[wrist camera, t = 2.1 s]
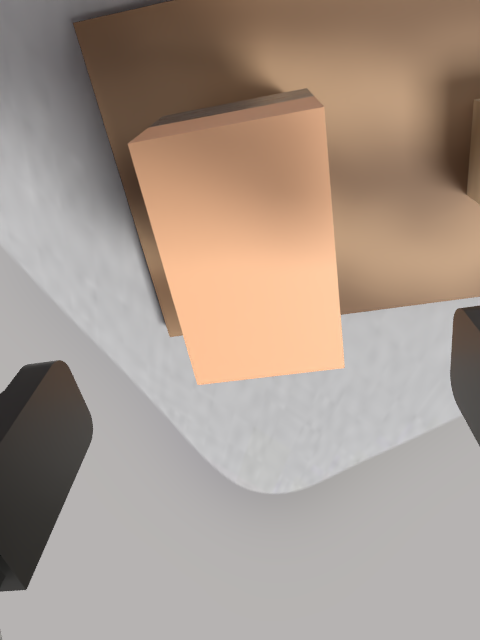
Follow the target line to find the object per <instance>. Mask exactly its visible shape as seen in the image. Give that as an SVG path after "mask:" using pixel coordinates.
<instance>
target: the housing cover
mask: <svg viewBox="0 0 480 640" xmlns="http://www.w3.org/2000/svg"><path fill="white" fill-rule="evenodd" d="M128 147H129V150H130V154H131V157H132V161H133V164H134V168H135V171H136V174H137V178H138V181H139V185H140V188H141V192H142V195H143V199H144V202H145V205H146V209H147V212H148V216H149V219H150V223H151V226H152V230H153V233H154V237H155V240H156V243H157V247H158V250H159V254H160V257H161V261H162V264H163V268H164V271H165V274H166V278H167V281H168V285H169V288H170V292H171V295H172V299H173V302H174V305H175V309H176V312H177V316H178V319H179V323H180V326H181V330H182V333H183V336H184V340H185V343H186V347H187V350H188V354H189V357H190V361H191V364H192V367H193V371H194V374H195V378H196V381H197V385H202V384H210V383H219V382H228V381H236V380H245V379H253V378H262V377H271V376H279V375H288V374H297V373H305V372H314V371H322V370H331V369H340V368H345V367H344V354H343V341H342V328H341V315H340V302H339V289H338V276H337V264H336V251H335V238H334V225H333V212H332V199H331V186H330V173H329V160H328V148H327V135H326V122H325V109H324V106H323V105H322V104H321V103H320V102H319V101H318V99H317V98H316V97H315V96H311V97H306V98H301V99H295V100H290V101H285V102H280V103H274V104H269V105H264V106H259V107H254V108H248V109H243V110H238V111H233V112H227V113H222V114H217V115H212V116H207V117H201V118H196V119H191V120H186V121H180V122H175V123H170V124H165V125H160V126H154V127H149V128H147V129H146V130H145V131H143V132H142V133H141V134H139V135H138V136H137V137H136V138H134V139H133V140H132V141H130V142H129V143H128Z"/></svg>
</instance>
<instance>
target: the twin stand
mask: <svg viewBox="0 0 480 640" xmlns="http://www.w3.org/2000/svg"><path fill="white" fill-rule="evenodd" d="M73 25H74V28H75V32H76V35H77V38H78V41H79V44H80V48H81V51H82V54H83V57H84V61H85V64H86V67H87V70H88V74H89V77H90V80H91V83H92V87H93V90H94V93H95V96H96V100H97V103H98V106H99V109H100V112H101V116H102V119H103V122H104V125H105V129H106V132H107V135H108V138H109V142H110V145H111V148H112V151H113V155H114V158H115V161H116V164H117V168H118V171H119V174H120V177H121V180H122V184H123V187H124V190H125V193H126V197H127V200H128V203H129V206H130V210H131V213H132V216H133V219H134V223H135V226H136V229H137V232H138V235H139V239H140V242H141V245H142V248H143V252H144V255H145V258H146V261H147V265H148V268H149V271H150V274H151V278H152V281H153V284H154V287H155V291H156V294H157V297H158V300H159V303H160V307H161V310H162V313H163V316H164V320H165V323H166V326H167V329H168V333H169V336H170V337H174V336H181V335H183V333H182V330H181V326H180V323H179V319H178V316H177V312H176V309H175V305H174V302H173V299H172V295H171V292H170V288H169V285H168V281H167V278H166V274H165V271H164V268H163V264H162V261H161V257H160V254H159V250H158V247H157V243H156V240H155V237H154V233H153V230H152V226H151V223H150V219H149V216H148V212H147V209H146V205H145V202H144V199H143V195H142V192H141V188H140V185H139V181H138V178H137V174H136V171H135V168H134V164H133V161H132V157H131V154H130V150H129V147H128V143H129V142H130V141H132V140H133V139H134V138H136V137H137V136H138V135H139V134H141V133H142V132H143V131H145V130H146V129H147V128H148V127H150V126H151V125H152V124H153V123H155V122H156V121H157V120H159V119H160V118H161V117H162V116H165V115H170V114H175V113H181V112H186V111H191V110H196V109H201V108H206V107H212V106H217V105H222V104H227V103H232V102H237V101H243V100H248V99H253V98H258V97H263V96H268V95H273V94H279V93H284V92H289V91H294V90H299V89H304V88H307V89H308V90H309V91H310V92H311V93H312V94H313V95H314V96H315V97H316V98H317V99H318V101H319V102H320V103H321V104H322V105H323V106H324V109H325V122H326V135H327V148H328V160H329V173H330V186H331V199H332V212H333V225H334V238H335V251H336V264H337V276H338V289H339V302H340V315H342V314H350V313H357V312H365V311H373V310H380V309H388V308H396V307H403V306H411V305H418V304H426V303H434V302H441V301H449V300H457V299H464V298H472V297H480V0H172V1H168V2H163V3H159V4H154V5H150V6H146V7H141V8H137V9H132V10H128V11H124V12H119V13H115V14H110V15H106V16H101V17H97V18H93V19H88V20H84V21H79V22H75V23H73Z"/></svg>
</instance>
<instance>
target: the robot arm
mask: <svg viewBox="0 0 480 640" xmlns="http://www.w3.org/2000/svg"><path fill="white" fill-rule="evenodd" d="M450 377H451V386H452V391H453V395H454V398H455V401H456V403H457V405H458V407H459V409H460V411H461V413H462V415H463V416H464V418H465V420H466V422H467V424H468V426H469V427H470V429H471V431H472V433H473V435H474V437H475V438H476V440H477V442H478V444H479V446H480V306H474V307H466V308H459V309H457V310H456V311H455V314H454V319H453V335H452V352H451V370H450ZM92 434H93V424H92V418H91V415H90V412H89V410H88V408H87V405H86V403H85V401H84V399H83V397H82V395H81V392H80V390H79V388H78V386H77V384H76V381H75V379H74V377H73V375H72V373H71V371H70V369H69V367H68V365H67V364H66V363H65V362H63V361H60V360H59V361H51V362H43V363H35V364H28V365H25V366H23V367H22V368H21V369H20V371H19V372H18V373H17V375H16V376H15V377H14V379H13V380H12V381H11V383H10V384H9V385H8V387H7V388H6V389H5V391H3V392H2V393H1V394H0V591H14V590H26V589H27V587H28V585H29V582H30V580H31V578H32V576H33V573H34V571H35V569H36V566H37V564H38V562H39V560H40V557H41V555H42V552H43V550H44V548H45V546H46V544H47V541H48V539H49V537H50V534H51V532H52V530H53V528H54V525H55V523H56V521H57V518H58V515H59V514H60V512H61V509H62V507H63V505H64V502H65V500H66V498H67V495H68V493H69V491H70V488H71V486H72V484H73V482H74V480H75V477H76V475H77V473H78V470H79V468H80V466H81V463H82V461H83V459H84V456H85V454H86V452H87V450H88V447H89V445H90V443H91V440H92ZM0 640H2V637H1V631H0Z"/></svg>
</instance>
